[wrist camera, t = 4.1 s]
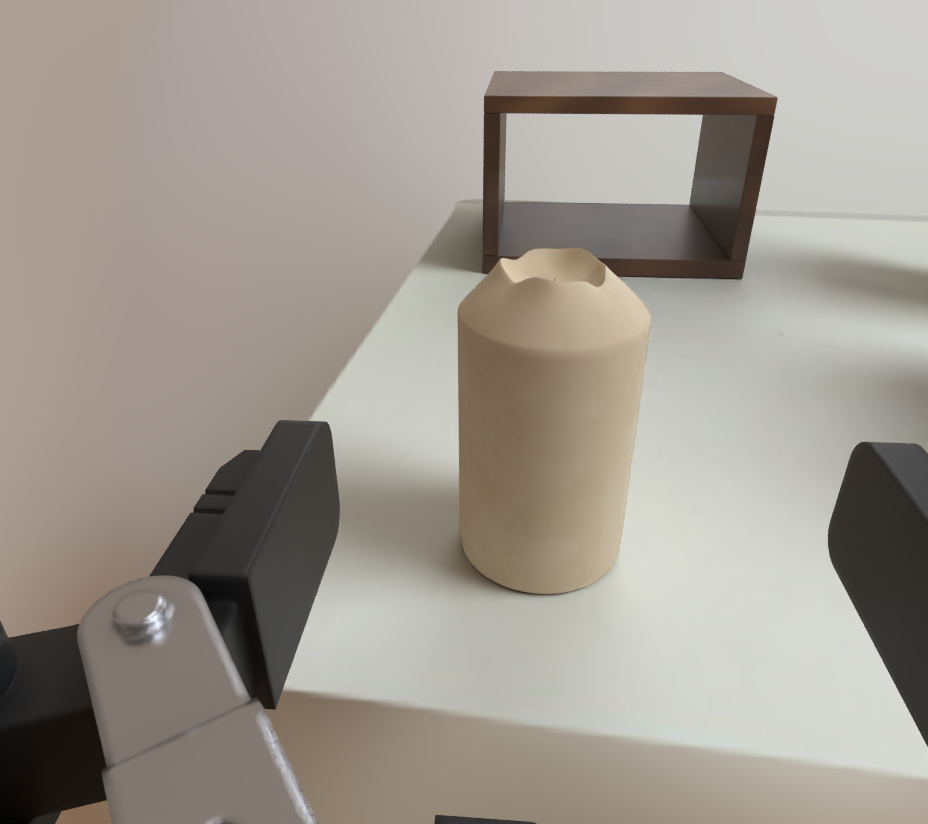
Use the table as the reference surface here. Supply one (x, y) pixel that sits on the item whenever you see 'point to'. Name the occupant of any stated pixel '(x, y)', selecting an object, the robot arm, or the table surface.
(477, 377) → the candle
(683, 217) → the shelf
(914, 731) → the table surface
